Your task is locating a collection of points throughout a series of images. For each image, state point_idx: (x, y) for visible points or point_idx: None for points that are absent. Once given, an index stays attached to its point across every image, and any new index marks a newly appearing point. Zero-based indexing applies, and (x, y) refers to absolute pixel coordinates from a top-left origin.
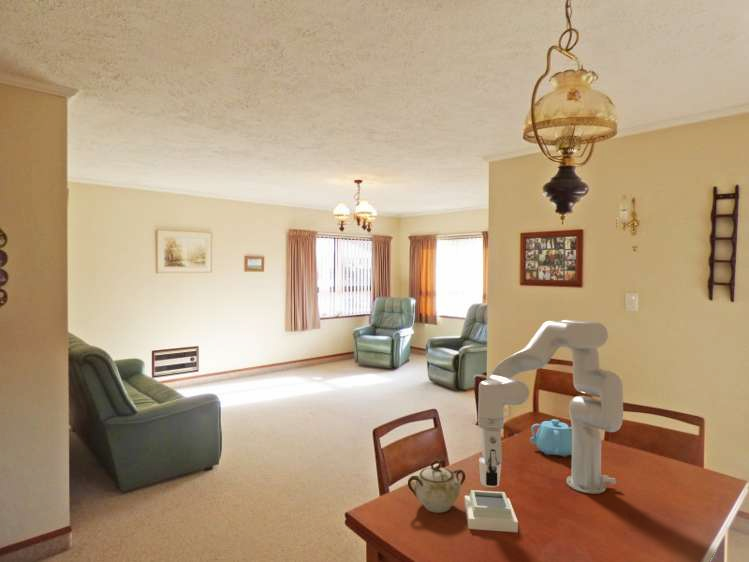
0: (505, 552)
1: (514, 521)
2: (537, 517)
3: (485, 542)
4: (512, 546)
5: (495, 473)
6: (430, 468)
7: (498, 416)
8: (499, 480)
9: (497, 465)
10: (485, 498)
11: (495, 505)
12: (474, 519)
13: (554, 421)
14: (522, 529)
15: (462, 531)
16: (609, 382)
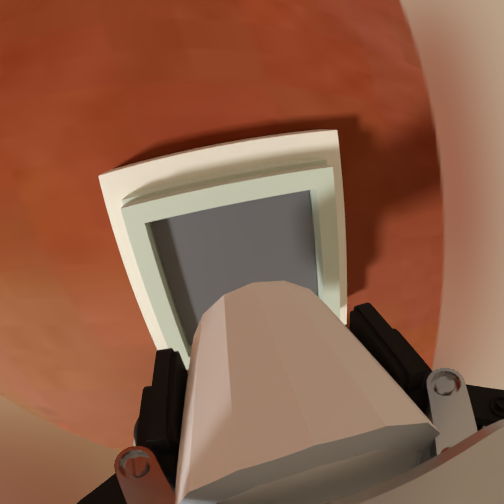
0: (431, 185)
1: (336, 145)
2: (164, 42)
3: (396, 245)
4: (404, 159)
5: (416, 376)
6: None
7: None
8: (299, 299)
9: (432, 426)
10: (204, 298)
11: (268, 244)
12: (346, 306)
13: None
14: (290, 107)
15: (348, 317)
16: None
